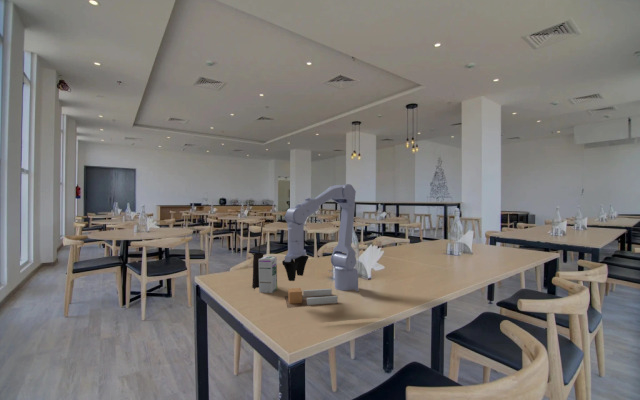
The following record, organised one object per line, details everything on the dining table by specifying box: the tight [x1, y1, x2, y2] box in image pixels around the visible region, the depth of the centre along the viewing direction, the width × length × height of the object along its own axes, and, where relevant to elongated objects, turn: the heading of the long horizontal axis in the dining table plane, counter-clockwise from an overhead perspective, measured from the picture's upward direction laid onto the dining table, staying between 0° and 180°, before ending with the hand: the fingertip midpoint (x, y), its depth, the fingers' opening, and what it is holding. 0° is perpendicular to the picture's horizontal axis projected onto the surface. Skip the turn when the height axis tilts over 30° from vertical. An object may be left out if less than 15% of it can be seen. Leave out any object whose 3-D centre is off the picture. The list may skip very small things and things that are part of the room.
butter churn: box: [251, 222, 264, 289], centre depth 129 cm, size 9×10×28 cm
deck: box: [284, 294, 339, 309], centre depth 109 cm, size 18×12×1 cm, turn 101°
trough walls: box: [302, 288, 339, 305], centre depth 110 cm, size 11×10×2 cm
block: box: [287, 287, 303, 304], centre depth 108 cm, size 4×4×4 cm
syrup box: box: [258, 255, 278, 294], centre depth 121 cm, size 6×6×14 cm
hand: (296, 277), depth 108 cm, fingers open, 7 cm apart
